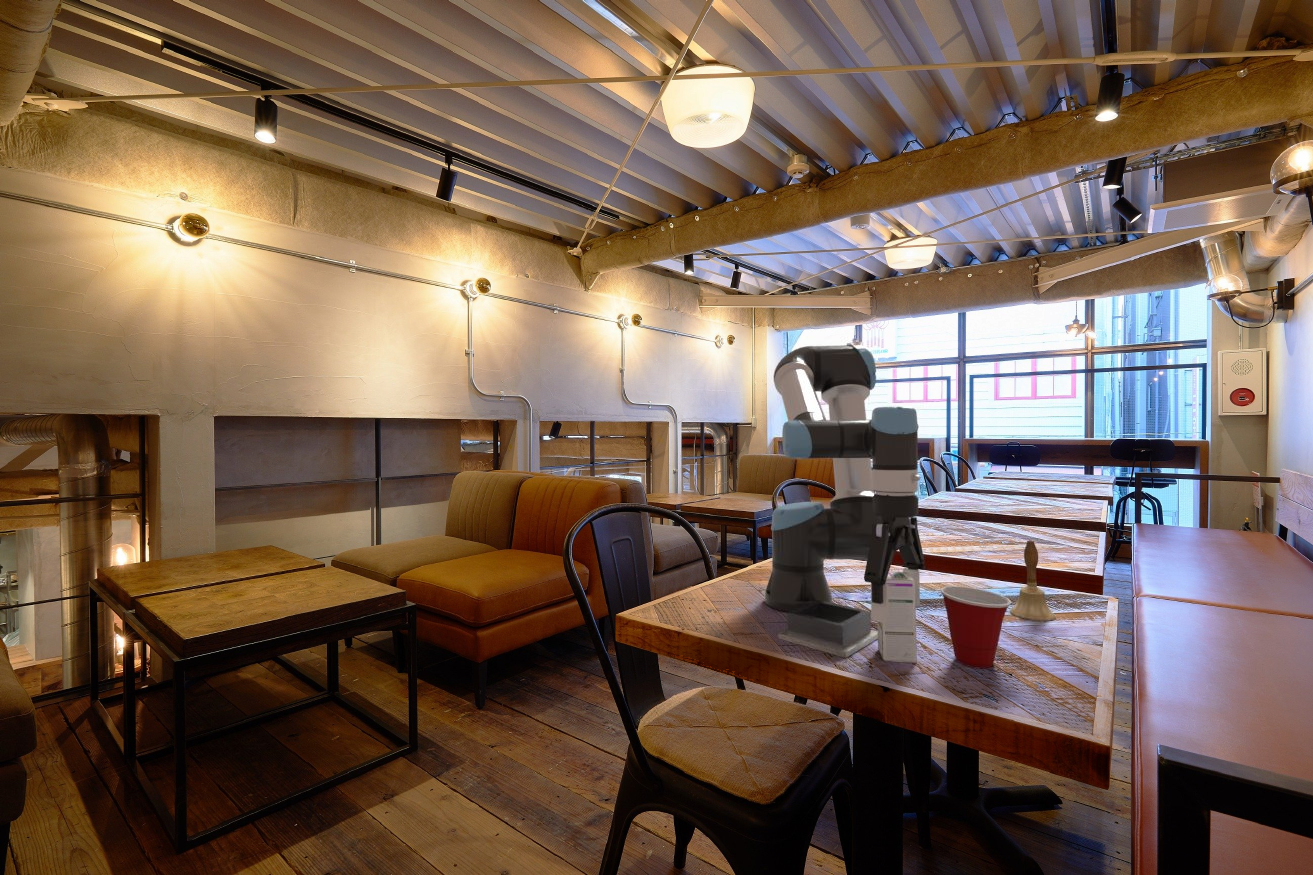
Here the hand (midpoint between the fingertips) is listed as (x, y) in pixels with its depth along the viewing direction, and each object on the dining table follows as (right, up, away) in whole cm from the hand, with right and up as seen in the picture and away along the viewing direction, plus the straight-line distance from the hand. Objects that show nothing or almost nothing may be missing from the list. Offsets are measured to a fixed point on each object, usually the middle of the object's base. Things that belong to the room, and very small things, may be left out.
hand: (896, 612), depth 102 cm
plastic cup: (+13, -8, -3) cm, 15 cm away
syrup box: (0, -8, 0) cm, 8 cm away
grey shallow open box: (-9, -8, +10) cm, 15 cm away
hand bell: (+38, -7, +22) cm, 45 cm away
